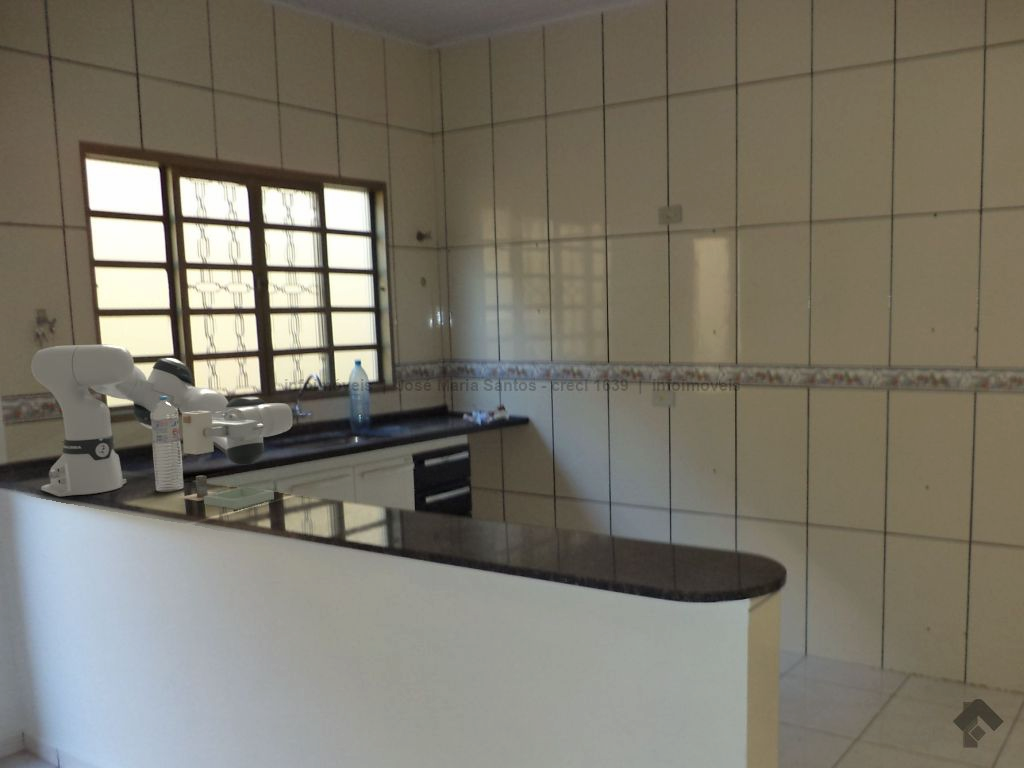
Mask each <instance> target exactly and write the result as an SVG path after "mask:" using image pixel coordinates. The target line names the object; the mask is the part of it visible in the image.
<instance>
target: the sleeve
mask: <svg viewBox="0 0 1024 768" xmlns="http://www.w3.org/2000/svg"><path fill="white" fill-rule="evenodd" d="M181 423H182V441H183V444H182V445H183V453H184V454H190V455H201V454H207V453H214V450H215V449H214V448H215V447H214V446H215V445H213V436H204V435H203V430H204V429H207V428H213V423H212V412H208V411H193V412H185V413H181Z"/></svg>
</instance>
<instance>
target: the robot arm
mask: <svg viewBox="0 0 1024 768" xmlns="http://www.w3.org/2000/svg"><path fill="white" fill-rule="evenodd" d="M30 368H31V369H30V371H31V374H32V375H33V378H34V379H35V380H36V382H38V383H39V384H40V385H42V386H43V387H44V388H46V389H47V390H48V391H49V392H50V393H51V394H52V395H53V397H54V398H55V399H56V401H57V403H58V404H59V407H60V409H61V413H62V418H63V419H62V420H63V424H64V434H65V435H64V436H65V439H64V440H63V441H61V443H63V444H61V446H62V453H63V454H62V455H61V456H60V457H59V458H58V459H57V460H56V462H55V463H54V464H53V465H52V466H51V467H50V470H49V471H48V476H49V479H50V483H48V484H44V485H42V486H41V488H40V490H41V491H43V492H46V493H49V494H51V495H54V496H56V497H66V496H67V497H68V496H78V495H79V496H80V495H82V496H83V495H91V494H93V495H94V494H98V493H105V492H110V491H114V490H117V489H120V488H122V487H123V486H124V484H127V479H126V478H123V473H122V468H121V467H122V466H121V461H120V457H119V454H118V453H116V451H115V450H114V449H115V447H116V446H115V443H116V441H115V439H114V435H113V434H112V422H111V411H110V408H109V406H108V405H107V404H106V403H105V402H103V401H101V400H99V399H98V398H97V399H96V398H95V397H94V396H93V395H92V393H90V391H89V388H88V387H90V388H91V389H92V390H93V391H94V392H96V393H98V394H102V395H104V396H108V397H111V398H115V399H121V400H127V401H131V402H133V406H130V409H131V410H132V411H133V416H134V418H135V420H136V421H137V422H138V423H140V424H141V425H142V426H143V427H145V428H147V429H150V430H152V424H151V418H150V417H151V416H150V413H151V411H152V410H153V408H154V407H155V406H156V405H157V404H159V403H160V399H159V397H161V396H167V402H168V403H170V404H171V405H173V406H174V407H175V408H176V409H177V410H178V409H179V412H180V413H181V414H182V413H185V412H193V411H208V412H212V423H213V428H207V429H204V430H203V435H204V436H213V446H215V447H216V448H217V449H219V451H220V450H221V452H223V453H224V454H225V456H226V457H227V458H228V459H229V460H230V461H231V462H232V463H234V464H236V465H251V464H252V465H253V464H256V463H257V462H258V461H259V460H260V459H261V458H262V456H264V454H265V445H264V438H268V437H272V436H273V437H274V436H276V435H279V434H282V433H285V432H287V431H289V430H290V429H291V428H292V427H293V424H294V416H293V411H292V408H291V407H290V405H289V404H287V403H281V402H275V403H274V402H273V403H272V402H271V403H267V402H266V401H265V400H263V399H262V398H260V397H259V396H254V395H253V396H252V395H251V396H250V395H249V396H242V397H236V398H235V397H234V398H232V399H231V400H230V401H228V399H227V398H226V397H225V395H224V394H223V393H222V392H220V391H218V390H216V389H212V388H209V387H197V386H193V384H192V382H195V378H193V376H192V372H191V370H190V368H189V367H188V366H187V365H185V364H184V362H182V361H180V360H179V359H177V358H173V357H166V358H165V357H162V358H158V359H157V360H156V362H155V363H154V365H153V366H152V371H151V372H150V374H149V375H148V378H147V377H146V375H145V373H144V372H143V371H142V370H141V369H140V368H139V367H138V366H136V365H135V361H134V358H133V356H132V354H131V352H130V351H129V350H128V349H127V348H126V347H124V346H120V345H113V344H104V343H103V344H78V345H76V344H74V345H56V346H50V347H47V348H42V349H39V350H37V351H36V353H35V354H34V355H33V357H32V359H31V365H30Z"/></svg>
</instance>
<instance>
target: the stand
mask: <svg viewBox="0 0 1024 768" xmlns="http://www.w3.org/2000/svg"><path fill="white" fill-rule="evenodd" d="M195 484H196V485H195V486H196V487H195V488H196V493H192V494H189V495H184V496H180V497H179V499H184V500H190V501H196V502H201V501H204V496H207V495H211V494H215V493H216V492H214V491H208V479H207V475H197V476H195Z"/></svg>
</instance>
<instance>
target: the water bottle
mask: <svg viewBox="0 0 1024 768" xmlns="http://www.w3.org/2000/svg"><path fill="white" fill-rule="evenodd" d="M159 399H160V403H159V404H157V405H156V406H155V407H154V408H153V410H152V411H151V413H150V416H151V417H150V418H151V424H152V429H151V434H152V435H151V436H152V437H151V438H152V455H153V466H154V481H155V482H154V483H155V489H156V490H155V491H157V492H161V493H163V492H165V493H167V492H174V491H179V490H182V489H184V487H185V485H184V473H183V471H184V470H183V459H182V456H183V455H182V446H181V445H182V444H181V438H180V437H181V436H180V425H179V424H180V423H179V417H180V415H179V411H178V409H176V408H175V407H174V406H173V405H171V404H170V403H168V402H167V396H161V397H159Z"/></svg>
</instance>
